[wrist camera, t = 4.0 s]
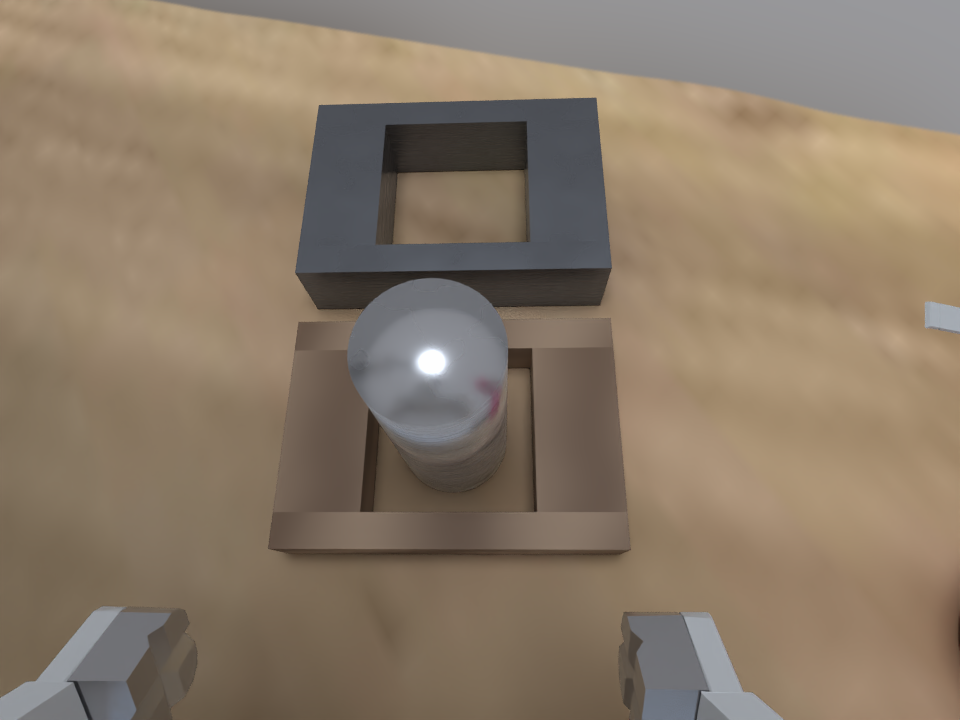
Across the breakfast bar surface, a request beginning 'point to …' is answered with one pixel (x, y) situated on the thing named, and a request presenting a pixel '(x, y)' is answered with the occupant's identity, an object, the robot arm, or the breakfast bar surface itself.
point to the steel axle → (435, 379)
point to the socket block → (456, 147)
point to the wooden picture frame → (548, 530)
